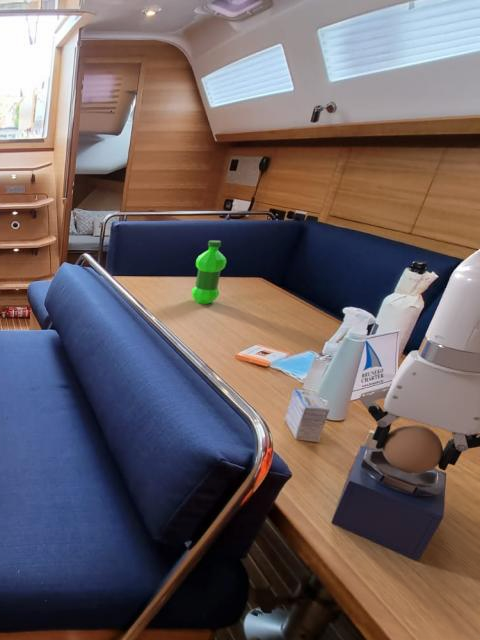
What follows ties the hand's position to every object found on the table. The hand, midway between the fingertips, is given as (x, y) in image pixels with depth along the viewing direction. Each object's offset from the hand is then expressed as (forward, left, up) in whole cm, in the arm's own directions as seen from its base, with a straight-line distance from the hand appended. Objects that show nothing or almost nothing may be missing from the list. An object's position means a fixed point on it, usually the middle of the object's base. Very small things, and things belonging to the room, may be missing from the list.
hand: (409, 453), depth 66 cm
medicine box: (-10, -23, -15) cm, 29 cm away
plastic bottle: (-51, -102, -14) cm, 115 cm away
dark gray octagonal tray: (0, 0, -5) cm, 5 cm away
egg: (0, 0, -3) cm, 3 cm away
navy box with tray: (0, 0, -14) cm, 14 cm away
